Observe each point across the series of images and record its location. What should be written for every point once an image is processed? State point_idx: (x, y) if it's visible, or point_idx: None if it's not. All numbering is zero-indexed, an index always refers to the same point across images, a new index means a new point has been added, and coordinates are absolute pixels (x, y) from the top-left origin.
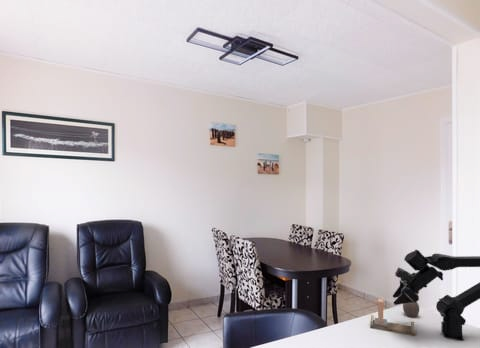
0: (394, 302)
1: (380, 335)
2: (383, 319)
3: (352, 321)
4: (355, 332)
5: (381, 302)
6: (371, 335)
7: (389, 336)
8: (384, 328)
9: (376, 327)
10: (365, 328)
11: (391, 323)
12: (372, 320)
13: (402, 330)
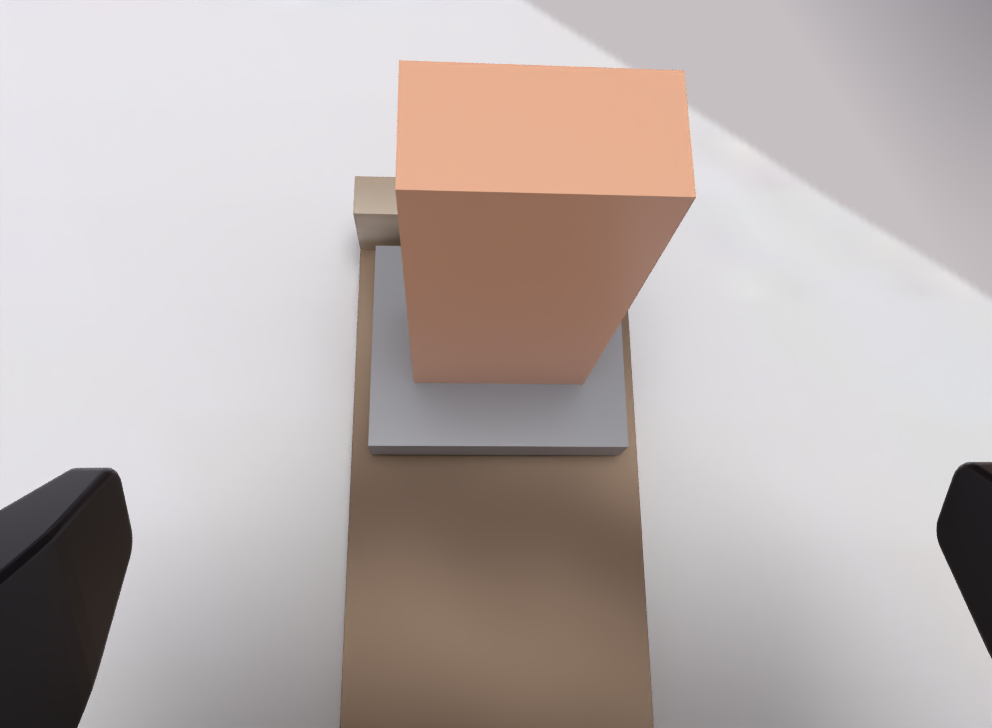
0: (35, 506)
1: (140, 367)
2: (596, 388)
3: (495, 9)
4: (126, 54)
5: (399, 155)
6: (96, 247)
7: (149, 498)
8: (354, 417)
9: (361, 303)
10: (319, 168)
11: (608, 531)
12: (387, 204)
13: (370, 718)
